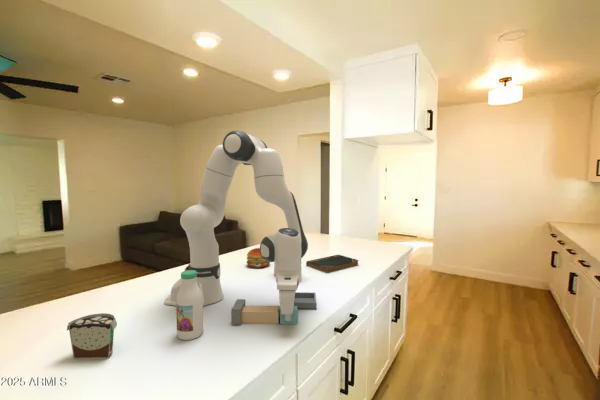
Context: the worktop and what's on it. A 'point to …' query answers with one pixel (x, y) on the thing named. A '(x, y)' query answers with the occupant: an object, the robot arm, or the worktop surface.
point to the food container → (92, 336)
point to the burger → (256, 259)
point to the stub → (293, 317)
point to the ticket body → (254, 313)
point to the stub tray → (305, 300)
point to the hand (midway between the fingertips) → (288, 315)
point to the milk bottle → (189, 307)
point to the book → (332, 263)
